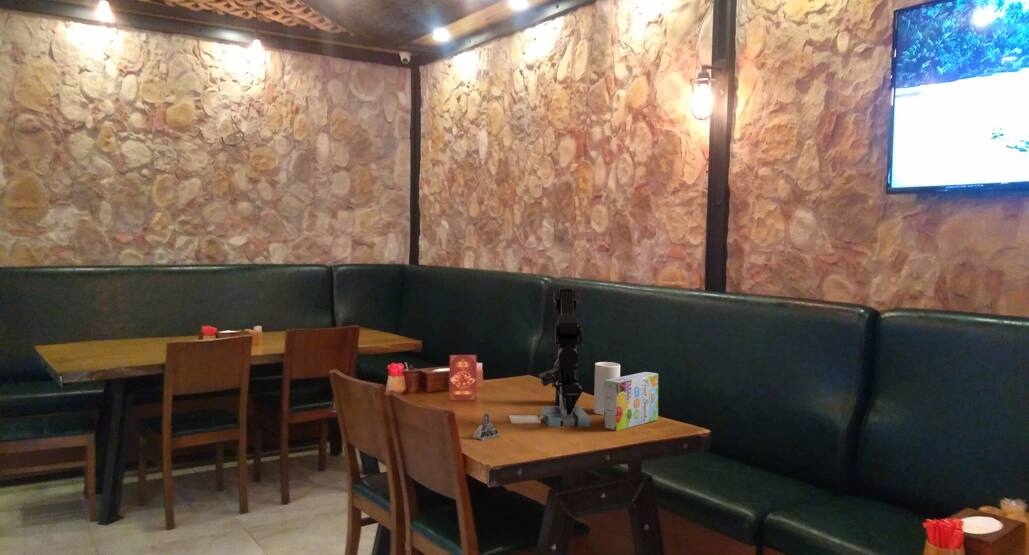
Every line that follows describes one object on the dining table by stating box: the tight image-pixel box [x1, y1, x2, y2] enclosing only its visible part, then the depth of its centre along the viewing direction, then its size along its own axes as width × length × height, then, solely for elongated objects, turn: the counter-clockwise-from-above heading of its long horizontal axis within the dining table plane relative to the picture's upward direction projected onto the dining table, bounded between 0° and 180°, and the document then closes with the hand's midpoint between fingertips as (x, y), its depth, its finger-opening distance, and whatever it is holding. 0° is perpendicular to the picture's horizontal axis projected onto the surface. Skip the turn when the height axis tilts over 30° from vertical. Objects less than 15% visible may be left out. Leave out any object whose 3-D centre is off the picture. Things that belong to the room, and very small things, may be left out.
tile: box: [508, 414, 542, 424], centre depth 248 cm, size 9×9×1 cm
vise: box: [538, 405, 591, 428], centre depth 248 cm, size 15×14×3 cm
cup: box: [593, 361, 621, 416], centre depth 261 cm, size 8×8×16 cm
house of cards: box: [472, 412, 501, 441], centre depth 228 cm, size 9×9×8 cm
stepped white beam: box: [559, 394, 575, 427], centre depth 245 cm, size 7×4×9 cm, turn 7°
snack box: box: [603, 371, 659, 432], centre depth 245 cm, size 21×6×15 cm, turn 135°
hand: (566, 411), depth 246 cm, fingers open, 9 cm apart
